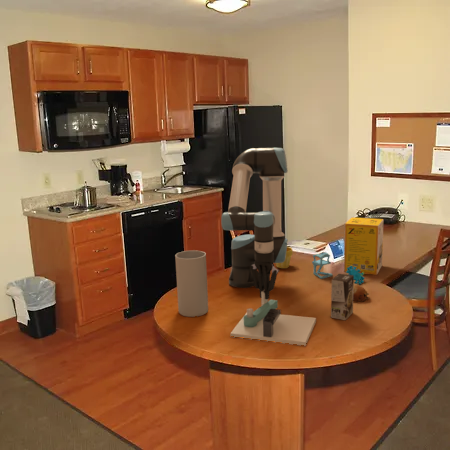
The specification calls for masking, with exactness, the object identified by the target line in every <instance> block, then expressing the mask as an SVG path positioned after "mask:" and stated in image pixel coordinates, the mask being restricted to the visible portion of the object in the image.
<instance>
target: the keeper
mask: <svg viewBox="0 0 450 450" xmlns="http://www.w3.org/2000/svg"><path fill="white" fill-rule="evenodd" d="M281 311H282V310H281V309H278V308H276V309H270V310H269V312H268V313H267V315H266V316H265V317H264V319H263V337H272V336H273V325H274V323H275V322H276V320H277V319H278V317H279V315H280V314H281Z"/></svg>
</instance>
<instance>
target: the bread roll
mask: <svg viewBox="0 0 450 450" xmlns="http://www.w3.org/2000/svg"><path fill="white" fill-rule="evenodd" d="M369 295H370V294H369V293H368V291H367V290H366V288H364V287H363V286H362V285H359V284H358V283H357V284H355V283H354V284H353V302H356V303H357V302H358V303H359V302H360V303H361V302H365V301H366V300H367V299H369V297H368V296H369Z"/></svg>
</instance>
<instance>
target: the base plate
mask: <svg viewBox="0 0 450 450" xmlns="http://www.w3.org/2000/svg"><path fill="white" fill-rule="evenodd" d="M245 315H247V312H246V313H245V314H244V315H243V317H242V318H241V319H240V320H239V322H237V323H236V325H235V327H234V328H233V329H232V331H231V332H230V337H231V336H234V337H233V338H235V337H244V338H251V339H250V340H252V339H260V340H267V341H266V342H268V341H275V342H274V343H276V342H282V343H281V344H285V343H289V344H288V345H293V344H297V345H296V346H301V345H304V346H303V347H306V346H307V344H308V342H309V338H310V337H311V334H312V332H313V330H314V327H315V325H316V322H317V317H310V316H309V317H308V316H300V315H299V316H298V315H290V314H280V315H279V317H278V319H277V320H276V322H275V323H274V325H273V336H272V337H263V319H264V318H263V319H261V320H260V321H259V322H257V325H256V326H254V327H247V326H244V316H245ZM260 340H259V341H260ZM306 343H307V344H306Z"/></svg>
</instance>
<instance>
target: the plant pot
mask: <svg viewBox="0 0 450 450" xmlns="http://www.w3.org/2000/svg"><path fill="white" fill-rule="evenodd" d="M292 256H293V248H292V247H290V246H287V250H286V257H285V261H284V262H282V263H275V266H276V267H275V268H277V269H287V268H289V267H290V263H291V257H292Z"/></svg>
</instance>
